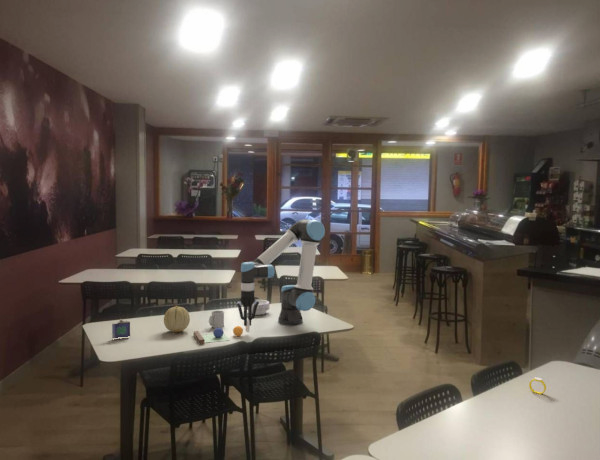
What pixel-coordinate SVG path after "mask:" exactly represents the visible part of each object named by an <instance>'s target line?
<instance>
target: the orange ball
mask: <svg viewBox="0 0 600 460" xmlns="http://www.w3.org/2000/svg"><path fill="white" fill-rule="evenodd" d="M232 331H233V335H234V336H236V337H240V336H242V335H243V333H244V329H243V327H242V326H240V325H237V326H234V328H233V329H232Z"/></svg>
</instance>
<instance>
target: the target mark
mask: <svg viewBox="0 0 600 460" xmlns="http://www.w3.org/2000/svg"><path fill="white" fill-rule="evenodd" d="M201 335H202V334H201ZM202 337H203V338H204V340H205V344H206V343H207V344H208V343H217V342H219V343H220V342H228V341H230V339H229V338H228V336H227V335H226V333H223V336H222V337H220V338H216V337H215V336H214V334H213V333H212V334H203V335H202Z"/></svg>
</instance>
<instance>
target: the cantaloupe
mask: <svg viewBox="0 0 600 460" xmlns="http://www.w3.org/2000/svg"><path fill="white" fill-rule="evenodd" d="M190 318H191V317H190V313H189V311H188V310H187V309H186V308H185V307H183V306H178V305H176V304H174V306H173V307H170V308H168V310H166V311H165V313H164V316H163V323H164V324H163V325H164V327H165V328H166V329H167V330H168V331H169V332H171V333H176V334H177V333H180V332H184V330H186V329H187V328H188V326H189V325H190V321H191V319H190Z"/></svg>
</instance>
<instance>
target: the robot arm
mask: <svg viewBox="0 0 600 460" xmlns="http://www.w3.org/2000/svg"><path fill="white" fill-rule="evenodd" d="M325 234H326V229H325V226H324V224H323V223H322V221H319V220H316V219H307V218H305V219H300V220H297V222H295V223H293V224H292V225H291V226H290V227H288V229H287V230H286V232H285V233H284V234H283V235H282V236H281V237H280V238H279V239H277V240H276V241H275V242H274V243H273V244H271V246H270V247H268V248H267V249H266V250H265V251H264V252H262V253H261V254H260V255H259V256H258V257H257V258H255V259H254V260H253V261H246V262H242V263H241V265H240V300H239V301H238V302H236V303H235V304H236V306H237V308H238V312H239V317H240V320H243V326H244V327H245V332H246V333H250V330H251V329H250V326H252V320H254V319H255V317H256V315H255V314H256V309H257V306H258V304H259V302H258V301H256V300H257V299H256V298H255V280H258V279H271V278H273V277H274V275H275V273H276V271H275V270H276V269H275V267H274V265H273V264H271V263H273V261H274V260H275V259H277V258H278V257H279V256H280V255H281V254H283V253H284V252H285V251H286V250H287V249H288V248H289V247H291V245H293V244H294V243H297V242H299V241H300V242H301V244H302V246H301V252H300V253H301V254H300V260H299V266H298V268H299V269H298V275H297V283H296V284H287V285H283V286H282V287H281V289H280V291H281V292H280V293H281V294H280V295H281V299H280V303H281V305H280V307H281V309H280V313H279V316H278V321H277V322H278V323H279V324H281V325H285V326H296V325H300V324H302V323H303V322H304V321H303V315H302V312H301V311H303V312H308V311H310V310H311V309H313V307H314V306H315V303H316V296H315V295H314V288H313V286H312V283H313V277H314V269H315V264H316V255H317V247H318V245H320V243H321V240H322V239H323V238H324V237H325ZM253 303H254V307H253V311H252V314H251V308H252V305H253ZM242 306H243V309H242ZM247 307H248V310H247Z"/></svg>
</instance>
